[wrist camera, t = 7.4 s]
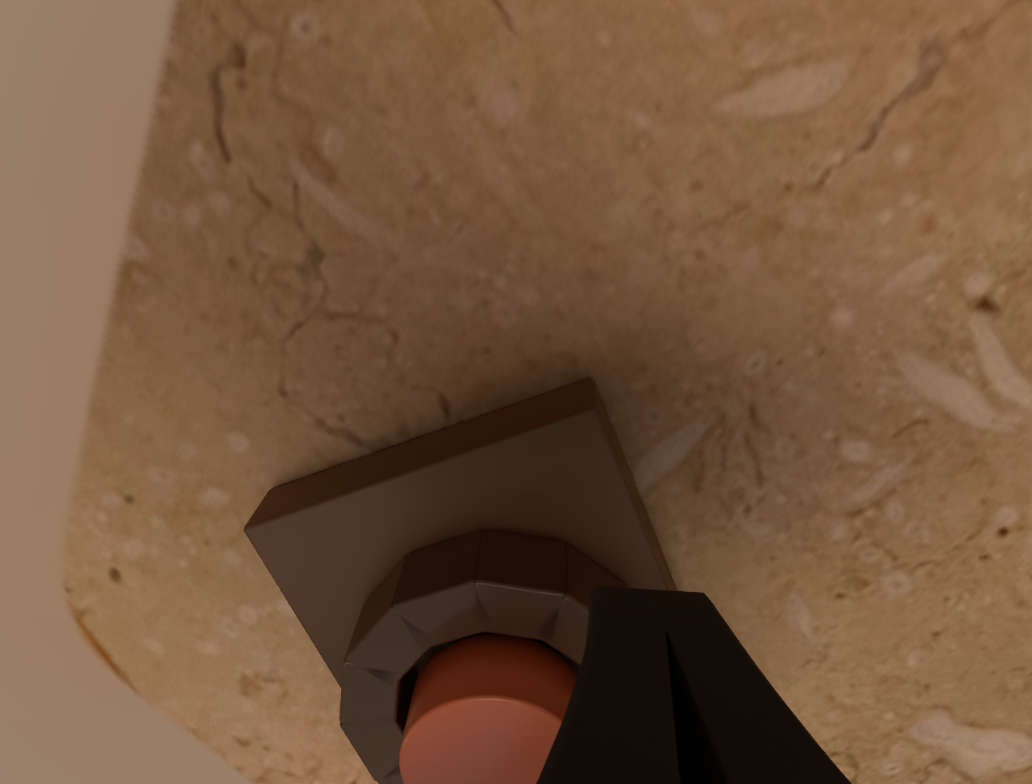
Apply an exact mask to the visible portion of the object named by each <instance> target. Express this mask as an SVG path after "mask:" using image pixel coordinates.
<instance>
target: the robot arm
mask: <svg viewBox="0 0 1032 784" xmlns="http://www.w3.org/2000/svg"><path fill="white" fill-rule="evenodd" d="M536 784H852V783H851V782H850V781H849V780H848V779H847V778H846V777H845V776H844V774H843V773H842V772H841V771H840V770H839V769H838V767H837V766H836V765H835V764H834V763H833V761H832V760H831V759H830V758H829V757H828V755H827V754H826V753H825V752H824V751H823V750H822V748H821V747H820V746H819V745H818V744H817V742H816V741H815V740H814V739H813V737H812V736H811V735H810V734H809V732H808V731H807V730H806V728H805V727H804V726H803V725H802V723H801V722H800V721H799V720H798V718H797V717H796V716H795V715H794V713H793V712H792V711H791V710H790V708H789V707H788V706H787V705H786V703H785V702H784V701H783V700H782V698H781V697H780V696H779V694H778V693H777V692H776V691H775V689H774V688H773V687H772V685H771V684H770V683H769V681H768V680H767V679H766V677H765V676H764V675H763V673H762V672H761V671H760V669H759V668H758V666H757V665H756V664H755V662H754V661H753V660H752V658H751V657H750V656H749V654H748V653H747V651H746V650H745V649H744V647H743V646H742V645H741V643H740V642H739V640H738V639H737V638H736V636H735V635H734V633H733V632H732V630H731V629H730V628H729V626H728V625H727V623H726V622H725V620H724V619H723V618H722V616H721V615H720V613H719V612H718V610H717V609H716V608H715V606H714V605H713V603H712V602H711V601H710V599H709V598H708V597H707V596H706V595H705V594H704V593H699V592H684V591H669V590H654V589H639V588H624V587H609V586H600V587H599V588H597V589H596V590H594V591H593V592H591V593H590V601H589V612H588V622H587V633H586V643H585V650H584V654H583V659H582V663H581V666H580V669H579V672H578V676H577V679H576V682H575V685H574V688H573V691H572V694H571V697H570V700H569V703H568V706H567V710H566V712H565V715H564V718H563V720H562V723H561V726H560V728H559V731H558V733H557V735H556V738H555V740H554V743H553V745H552V747H551V750H550V752H549V755H548V757H547V759H546V762H545V764H544V767H543V769H542V771H541V774H540V776H539V779H538V781H537V783H536Z"/></svg>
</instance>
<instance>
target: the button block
mask: <svg viewBox="0 0 1032 784" xmlns="http://www.w3.org/2000/svg"><path fill="white" fill-rule="evenodd" d="M244 532H245V533H246V535H247V537H248V538H249V540H250V542H251V543H252V545H253V546H254V548H255V550H256V551H257V553H258V554H259V556H260V558H261V559H262V561H263V563H264V564H265V566H266V567H267V569H268V571H269V572H270V574H271V575H272V577H273V579H274V580H275V582H276V584H277V585H278V587H279V588H280V590H281V592H282V593H283V595H284V596H285V598H286V600H287V601H288V603H289V605H290V606H291V608H292V609H293V611H294V613H295V614H296V616H297V617H298V619H299V621H300V622H301V624H302V626H303V627H304V629H305V630H306V632H307V634H308V635H309V637H310V639H311V640H312V642H313V643H314V645H315V647H316V648H317V650H318V651H319V653H320V655H321V656H322V658H323V660H324V661H325V663H326V664H327V666H328V668H329V669H330V671H331V672H332V674H333V676H334V677H335V679H336V681H337V682H338V684H339V685H340V687H341V702H340V717H339V719H340V727H341V728H342V730H343V731H344V733H345V735H346V736H347V738H348V739H349V741H350V742H351V744H352V746H353V747H354V749H355V750H356V752H357V753H358V755H359V757H360V758H361V760H362V761H363V763H364V765H365V766H366V768H367V769H368V771H369V772H370V774H371V776H372V777H373V779H374V780H375V781H377V782H378V783H379V784H404V782H403V779H402V776H401V773H400V767H399V752H400V747H401V742H402V738H403V733H404V729H405V725H406V720H407V716H408V712H409V707H410V703H411V699H412V694H413V690H414V686H415V682H416V679H417V677H418V674H419V673H420V671H421V669H422V668H423V666H424V665H425V664H426V663H427V661H428V660H429V659H430V658H431V657H432V656H433V655H434V654H436V653H437V652H438V651H439V650H441V649H442V648H444V647H445V646H447V645H449V644H451V643H453V642H455V641H458V640H461V639H463V638H467V637H471V636H475V635H482V634H502V635H509V636H516V637H523V638H527V639H530V640H533V641H535V642H538V643H540V644H542V645H544V646H546V647H548V648H550V649H551V650H553V651H554V652H556V653H557V654H558V655H560V656H561V657H562V658H563V659H564V660H565V661H566V662H567V663H568V664H569V665H570V666H571V668H572V669H573V670H574V671H575V673H576V674H577V676H578V672H579V669H580V666H581V663H582V659H583V654H584V650H585V643H586V633H587V622H588V612H589V601H590V593H591V592H593V591H594V590H596V589H597V588H599V587H600V586H609V587H624V588H639V589H654V590H669V591H677V589H676V587H675V584H674V581H673V579H672V576H671V574H670V571H669V569H668V566H667V564H666V561H665V559H664V556H663V554H662V551H661V548H660V546H659V543H658V541H657V538H656V536H655V533H654V531H653V528H652V526H651V523H650V521H649V518H648V515H647V513H646V510H645V508H644V505H643V503H642V500H641V498H640V495H639V493H638V490H637V488H636V485H635V482H634V480H633V477H632V475H631V472H630V470H629V467H628V465H627V462H626V460H625V457H624V454H623V452H622V449H621V447H620V444H619V442H618V439H617V437H616V434H615V432H614V429H613V427H612V424H611V421H610V419H609V416H608V414H607V411H606V409H605V406H604V404H603V401H602V399H601V396H600V394H599V391H598V388H597V386H596V383H595V381H594V379H593V378H588V379H585V380H582V381H579V382H576V383H573V384H570V385H568V386H565V387H562V388H559V389H556V390H553V391H551V392H548V393H545V394H542V395H539V396H536V397H533V398H531V399H528V400H525V401H522V402H519V403H516V404H513V405H511V406H508V407H505V408H502V409H499V410H496V411H493V412H491V413H488V414H485V415H482V416H479V417H476V418H474V419H471V420H468V421H465V422H462V423H459V424H456V425H454V426H451V427H448V428H445V429H442V430H439V431H436V432H434V433H431V434H428V435H425V436H422V437H419V438H416V439H414V440H411V441H408V442H405V443H402V444H399V445H397V446H394V447H391V448H388V449H385V450H382V451H379V452H377V453H374V454H371V455H368V456H365V457H362V458H359V459H357V460H354V461H351V462H348V463H345V464H342V465H339V466H337V467H334V468H331V469H328V470H325V471H322V472H320V473H317V474H314V475H311V476H308V477H305V478H302V479H300V480H297V481H294V482H291V483H288V484H285V485H282V486H280V487H277V488H274V489H271V490H269V491H268V493H267V494H266V496H265V497H264V499H263V500H262V502H261V503H260V505H259V506H258V508H257V509H256V511H255V512H254V514H253V515H252V517H251V518H250V520H249V521H248V523H247V524H246V525H245V527H244Z"/></svg>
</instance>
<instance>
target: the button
mask: <svg viewBox="0 0 1032 784" xmlns="http://www.w3.org/2000/svg"><path fill="white" fill-rule="evenodd" d="M576 679H577V674H576V673H575V671H574V670H573V669H572V668H571V666H570V665H569V664H568V663H567V662H566V661H565V660H564V659H563V658H562V657H561V656H560V655H558V654H557V653H556V652H554V651H553V650H551V649H550V648H548V647H546V646H544V645H542V644H540V643H538V642H535V641H533V640H530V639H527V638H523V637H516V636H509V635H502V634H482V635H475V636H471V637H467V638H463V639H461V640H458V641H455V642H453V643H451V644H449V645H447V646H445V647H444V648H442V649H441V650H439V651H438V652H437V653H436V654H434V655H433V656H432V657H431V658H430V659H429V660H428V661H427V663H426V664H425V665H424V666H423V668H422V669H421V671H420V673H419V674H418V677H417V679H416V682H415V686H414V690H413V694H412V699H411V703H410V707H409V712H408V716H407V720H406V725H405V729H404V733H403V738H402V742H401V747H400V752H399V767H400V773H401V776H402V779H403V782H404V784H536V783H537V781H538V779H539V776H540V774H541V771H542V769H543V767H544V764H545V762H546V759H547V757H548V755H549V752H550V750H551V747H552V745H553V743H554V740H555V738H556V735H557V733H558V731H559V728H560V726H561V723H562V720H563V718H564V715H565V712H566V710H567V706H568V703H569V700H570V697H571V694H572V691H573V688H574V685H575V682H576Z"/></svg>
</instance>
